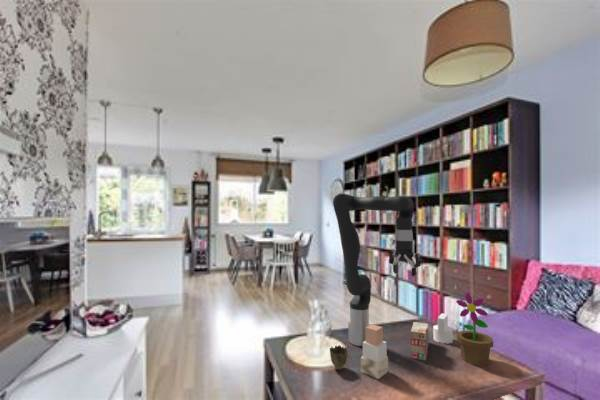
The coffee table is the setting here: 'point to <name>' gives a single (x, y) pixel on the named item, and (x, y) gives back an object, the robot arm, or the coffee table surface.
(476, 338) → the flowerpot
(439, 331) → the cylinder with rectangular tab
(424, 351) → the stack of blocks
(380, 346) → the cream middle block
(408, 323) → the coffee table surface
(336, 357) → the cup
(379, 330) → the tan block
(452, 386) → the coffee table surface
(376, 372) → the maple base block
